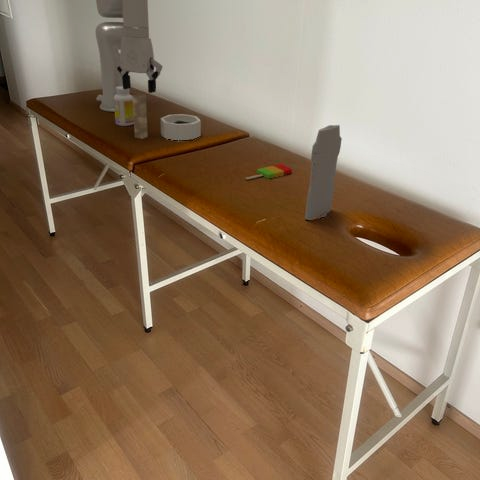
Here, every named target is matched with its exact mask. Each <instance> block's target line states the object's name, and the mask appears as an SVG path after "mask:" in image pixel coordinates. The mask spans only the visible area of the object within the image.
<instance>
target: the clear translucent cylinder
mask: <svg viewBox="0 0 480 480" xmlns="http://www.w3.org/2000/svg"><path fill="white" fill-rule="evenodd" d="M132 97H133V112H134V124H133V125H134V126H133V129H134V130H133V131H134V139H135V138H136V139H141V140H144V139H146V138H148V137H149V136H148V118H147V117H148V114H147V95H146V94H144V93H136V94H133V95H132Z"/></svg>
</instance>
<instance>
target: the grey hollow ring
mask: <svg viewBox="0 0 480 480" xmlns="http://www.w3.org/2000/svg"><path fill="white" fill-rule="evenodd" d="M178 120H179V121H184V122H190V124H175V123H174V122H176V121H178ZM201 124H202V123H201V119H200V118H199V117H198V116H196V115H191V114H184V113H183V114H181V113H179V114H178V113H177V114H168V115H166V116H163V117H160V135H161V137H162V138H163V137H164V138H166V139H165V140H168V139H171V140H170V141H173V140H178V141H177V142H180V141H179V140H189V139H194V138H197V137H199V136H201V135H202V134H201V132H202V131H201V130H202V129H201V128H202V127H201V126H202V125H201ZM164 138H163V139H164ZM199 138H200V137H199ZM197 139H198V138H197Z"/></svg>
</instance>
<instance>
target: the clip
mask: <svg viewBox="0 0 480 480" xmlns="http://www.w3.org/2000/svg"><path fill="white" fill-rule="evenodd" d="M174 123H175V124H190V122H184V121H179V120H178V121H176V122H174Z"/></svg>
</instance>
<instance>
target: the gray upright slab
mask: <svg viewBox="0 0 480 480" xmlns="http://www.w3.org/2000/svg"><path fill="white" fill-rule="evenodd" d="M340 129H341V128H340V124H335V125H334V124H332V125H331V124H330V125H327V126H325V127H323V128H320V129H318V132H317V136H316V138H315V142H314V143H313V145H312V149H311V154H310V155H311V156H310V157H311V159H310V161H311V173H310V180H309V188H308V191H307V197H306V205H305V206H306V207H305V215H304V220H305V219H308V220H310V219H314V218H318V217H325V216H326V215H328V214H329V213H328V212H330V211H332V205H333V197H334V192H335V177H336V169H337V164H338V157H339V155H340V152H341V148H342V140H343V138H342V137H341V130H340ZM327 213H328V214H327ZM330 213H331V212H330ZM326 217H327V216H326ZM326 217H325V218H326ZM318 219H319V218H318Z"/></svg>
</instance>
